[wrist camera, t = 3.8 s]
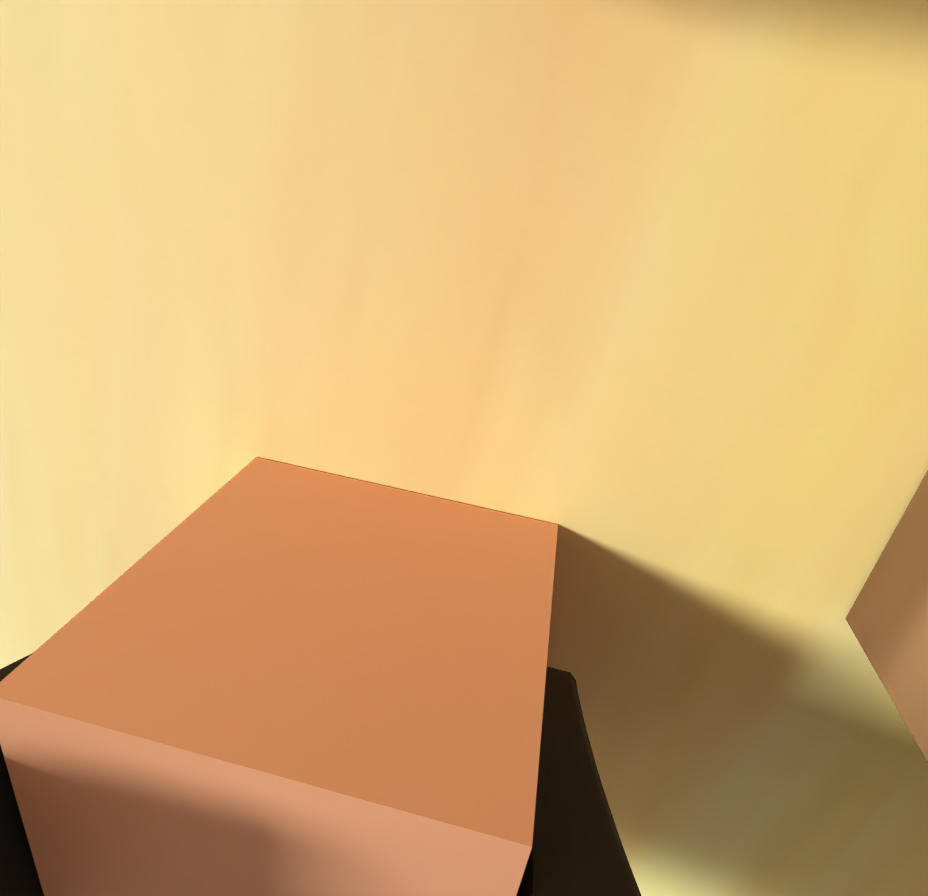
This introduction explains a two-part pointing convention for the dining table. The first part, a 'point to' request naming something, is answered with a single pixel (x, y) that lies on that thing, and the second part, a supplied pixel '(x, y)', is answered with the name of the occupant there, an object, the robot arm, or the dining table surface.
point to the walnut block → (900, 617)
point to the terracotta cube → (294, 702)
